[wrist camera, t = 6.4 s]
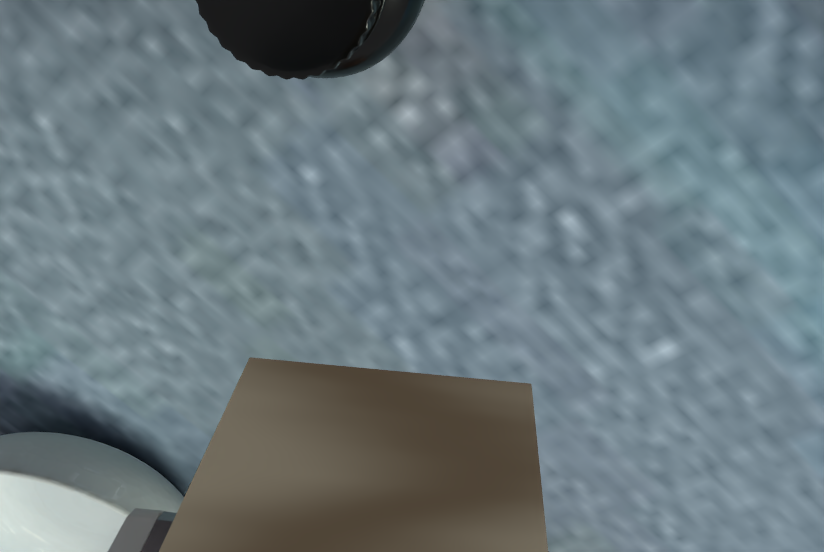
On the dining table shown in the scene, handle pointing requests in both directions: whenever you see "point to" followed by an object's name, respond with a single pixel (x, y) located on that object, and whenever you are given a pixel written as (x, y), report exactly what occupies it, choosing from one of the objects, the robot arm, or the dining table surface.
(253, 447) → the oak cube
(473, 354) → the dining table surface
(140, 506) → the serving bowl
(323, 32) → the supplement bottle
